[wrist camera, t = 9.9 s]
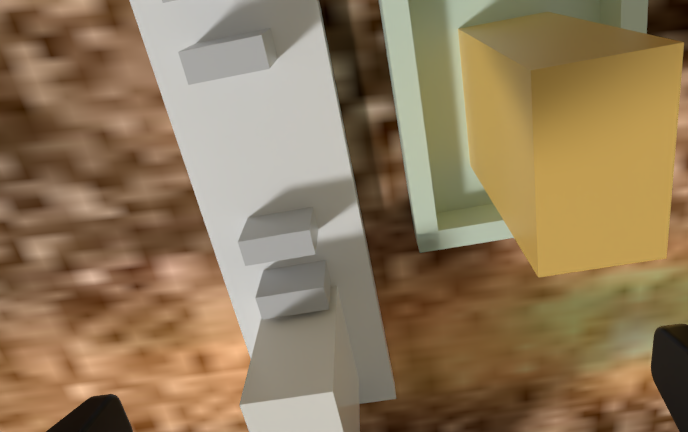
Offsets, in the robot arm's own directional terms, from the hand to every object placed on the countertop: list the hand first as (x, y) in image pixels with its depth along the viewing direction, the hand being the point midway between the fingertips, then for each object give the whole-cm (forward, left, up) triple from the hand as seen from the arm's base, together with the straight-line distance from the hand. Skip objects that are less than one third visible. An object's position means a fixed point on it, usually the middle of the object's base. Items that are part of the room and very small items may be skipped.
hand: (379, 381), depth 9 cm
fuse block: (+1, +4, -13) cm, 13 cm away
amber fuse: (+1, -5, -12) cm, 13 cm away
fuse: (-8, +4, -12) cm, 15 cm away
